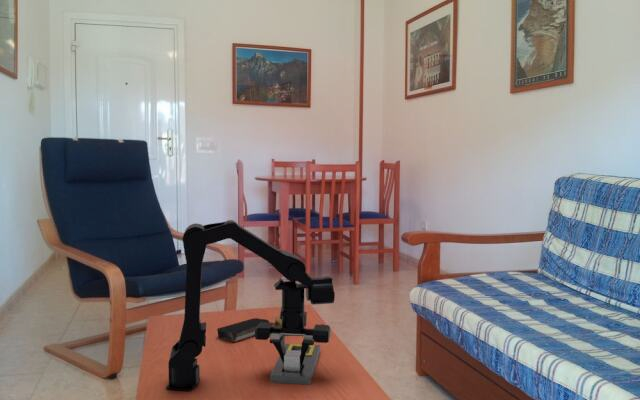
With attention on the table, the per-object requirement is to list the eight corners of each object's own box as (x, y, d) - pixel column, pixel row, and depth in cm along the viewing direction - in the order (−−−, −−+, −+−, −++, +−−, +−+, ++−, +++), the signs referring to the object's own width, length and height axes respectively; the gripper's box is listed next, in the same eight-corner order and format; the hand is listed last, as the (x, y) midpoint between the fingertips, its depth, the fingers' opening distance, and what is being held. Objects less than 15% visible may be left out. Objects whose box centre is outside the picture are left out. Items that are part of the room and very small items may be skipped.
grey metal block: (284, 378, 131) (284, 356, 131) (286, 372, 135) (286, 350, 135) (299, 379, 131) (299, 356, 130) (302, 373, 135) (302, 350, 134)
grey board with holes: (270, 382, 129) (270, 373, 129) (285, 350, 150) (285, 342, 150) (310, 384, 128) (310, 375, 128) (320, 352, 149) (320, 344, 149)
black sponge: (231, 345, 154) (231, 333, 154) (215, 338, 160) (214, 327, 160) (272, 332, 166) (272, 321, 166) (256, 325, 172) (256, 315, 172)
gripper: (332, 297, 138) (332, 354, 140) (264, 295, 140) (264, 350, 142) (328, 310, 127) (328, 371, 129) (254, 307, 129) (254, 367, 131)
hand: (293, 364), depth 133 cm, fingers closed on grey metal block, 4 cm apart
